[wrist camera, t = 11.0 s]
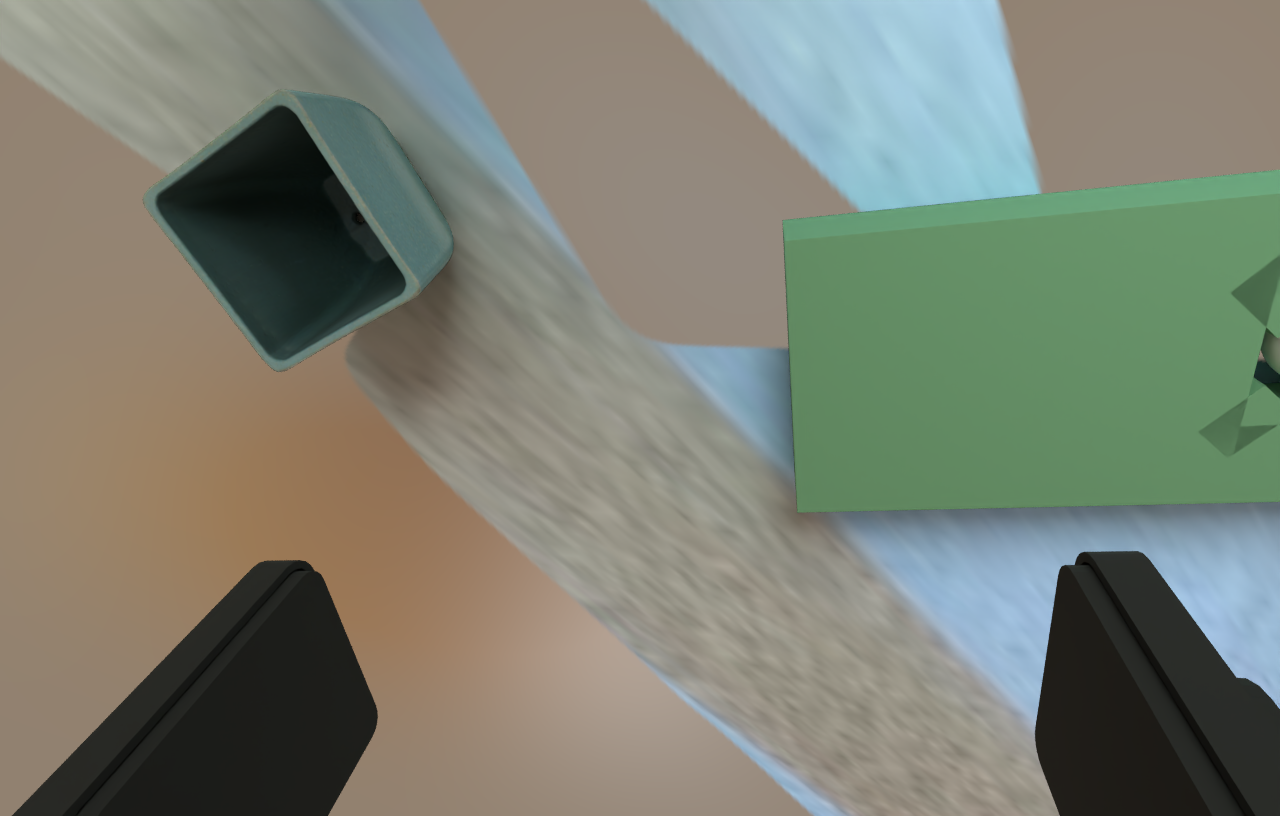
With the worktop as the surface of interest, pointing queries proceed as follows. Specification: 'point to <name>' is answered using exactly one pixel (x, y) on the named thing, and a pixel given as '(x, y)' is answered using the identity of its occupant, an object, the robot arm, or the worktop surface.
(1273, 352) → the ball
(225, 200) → the flower pot
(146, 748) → the robot arm
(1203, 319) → the putting mat
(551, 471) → the worktop surface
